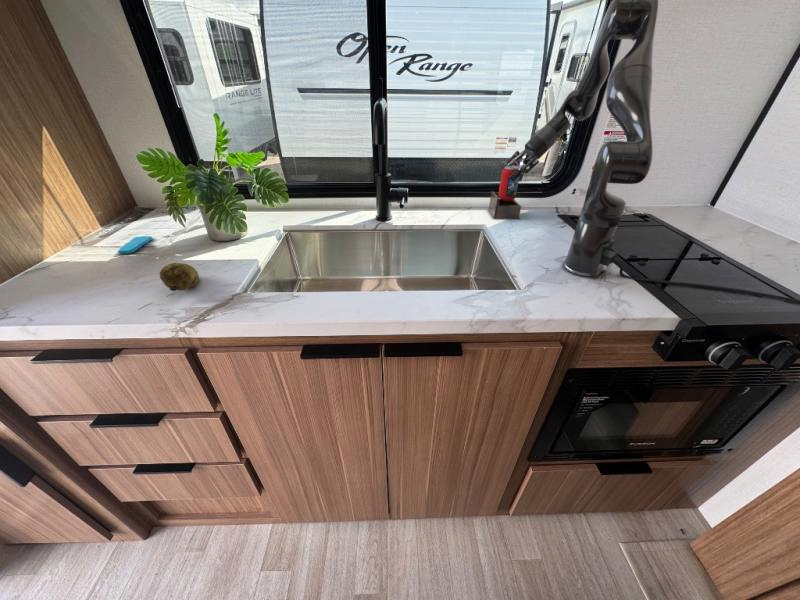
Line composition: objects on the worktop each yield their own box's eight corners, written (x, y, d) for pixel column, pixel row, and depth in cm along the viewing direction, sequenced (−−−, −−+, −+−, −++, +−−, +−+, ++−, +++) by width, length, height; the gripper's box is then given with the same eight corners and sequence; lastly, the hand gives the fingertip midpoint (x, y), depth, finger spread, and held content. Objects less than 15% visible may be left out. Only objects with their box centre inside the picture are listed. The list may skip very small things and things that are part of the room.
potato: (212, 274, 90) (202, 248, 85) (192, 300, 79) (180, 271, 75) (181, 276, 89) (169, 249, 85) (156, 302, 78) (142, 273, 74)
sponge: (110, 251, 100) (129, 249, 100) (134, 236, 110) (151, 234, 109) (113, 256, 100) (131, 253, 100) (137, 240, 110) (153, 238, 110)
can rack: (511, 210, 136) (515, 191, 131) (518, 218, 128) (522, 198, 123) (488, 210, 136) (491, 191, 131) (494, 218, 128) (497, 198, 123)
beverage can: (511, 202, 124) (517, 169, 117) (494, 199, 127) (499, 167, 121) (517, 198, 129) (524, 166, 122) (501, 195, 132) (506, 164, 125)
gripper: (526, 132, 123) (492, 166, 127) (548, 137, 111) (510, 174, 115) (535, 147, 126) (502, 179, 131) (557, 153, 115) (521, 188, 119)
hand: (506, 177), depth 123 cm, fingers closed on beverage can, 7 cm apart
